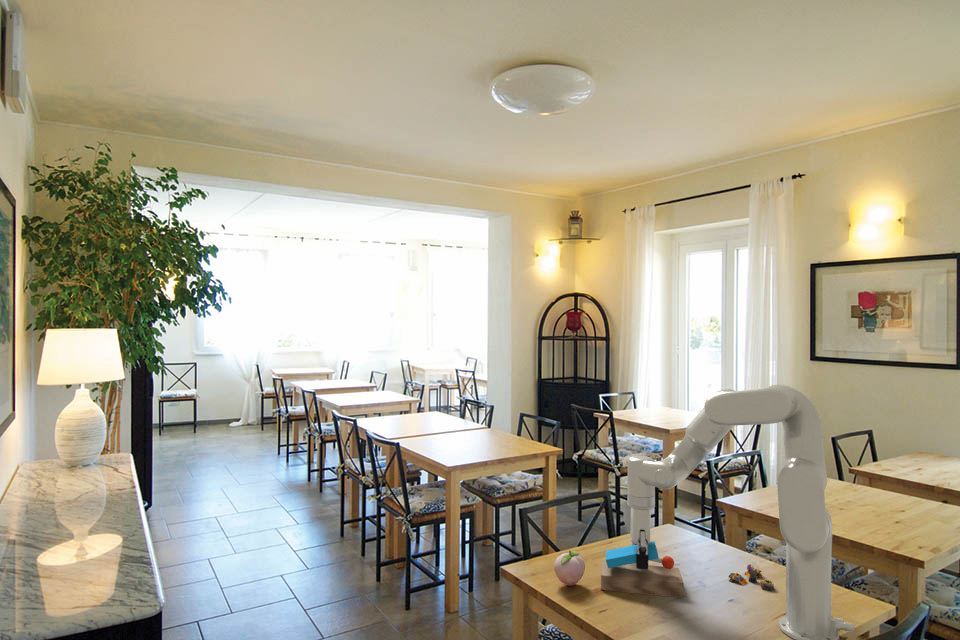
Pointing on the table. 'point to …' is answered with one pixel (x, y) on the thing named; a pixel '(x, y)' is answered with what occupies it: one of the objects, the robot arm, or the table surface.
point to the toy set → (752, 578)
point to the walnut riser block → (642, 580)
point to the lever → (629, 556)
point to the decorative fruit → (569, 568)
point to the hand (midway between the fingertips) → (641, 562)
